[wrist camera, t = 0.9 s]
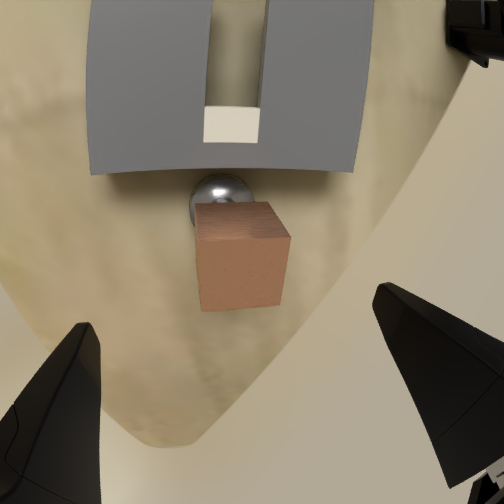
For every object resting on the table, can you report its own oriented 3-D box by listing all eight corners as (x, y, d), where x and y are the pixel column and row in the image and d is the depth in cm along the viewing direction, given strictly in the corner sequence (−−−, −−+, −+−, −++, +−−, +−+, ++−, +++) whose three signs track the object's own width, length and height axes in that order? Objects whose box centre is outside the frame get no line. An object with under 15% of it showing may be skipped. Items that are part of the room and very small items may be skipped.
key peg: (253, 173, 20) (295, 233, 13) (249, 230, 22) (282, 307, 16) (189, 174, 19) (194, 237, 12) (189, 232, 22) (197, 315, 15)
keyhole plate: (123, -81, 7) (116, -100, 5) (352, -58, 11) (374, -70, 8) (103, 161, 17) (90, 175, 15) (332, 159, 21) (352, 172, 18)
